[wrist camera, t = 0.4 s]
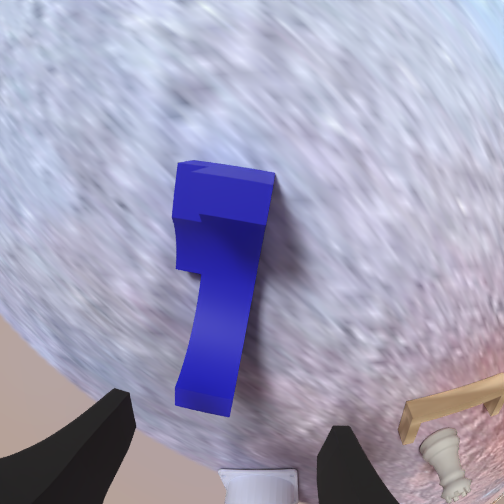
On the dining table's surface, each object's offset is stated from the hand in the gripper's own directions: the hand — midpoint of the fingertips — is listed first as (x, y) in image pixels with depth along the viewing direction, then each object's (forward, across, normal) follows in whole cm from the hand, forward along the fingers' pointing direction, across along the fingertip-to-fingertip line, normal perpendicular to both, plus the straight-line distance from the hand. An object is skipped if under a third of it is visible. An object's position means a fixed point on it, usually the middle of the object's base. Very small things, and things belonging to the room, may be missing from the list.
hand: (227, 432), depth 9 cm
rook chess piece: (+10, -21, +14) cm, 27 cm away
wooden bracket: (+10, -20, +8) cm, 24 cm away
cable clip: (+10, +2, -2) cm, 11 cm away
